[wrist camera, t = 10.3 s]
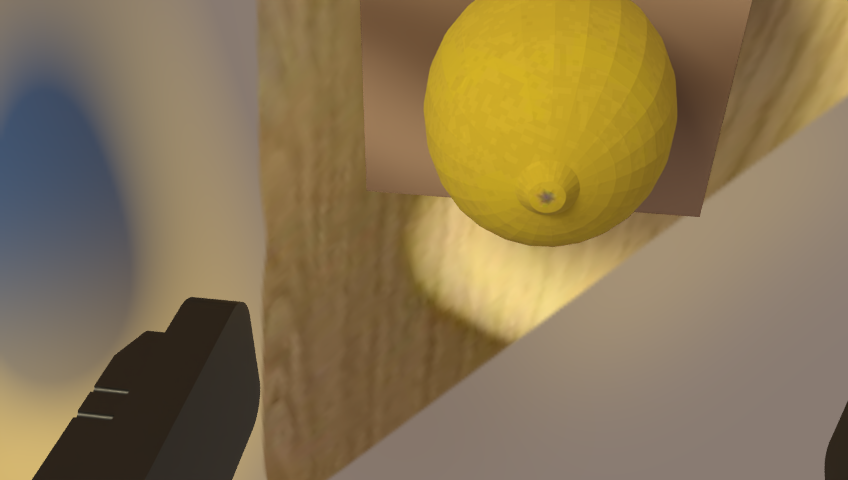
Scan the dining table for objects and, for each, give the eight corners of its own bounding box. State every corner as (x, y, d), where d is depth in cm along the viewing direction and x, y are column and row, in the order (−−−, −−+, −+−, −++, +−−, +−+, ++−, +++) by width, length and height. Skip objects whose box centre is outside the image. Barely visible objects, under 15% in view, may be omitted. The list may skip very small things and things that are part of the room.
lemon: (675, -61, 19) (739, 69, 13) (634, 142, 22) (668, 329, 16) (449, -75, 20) (399, 43, 13) (439, 125, 23) (396, 300, 16)
